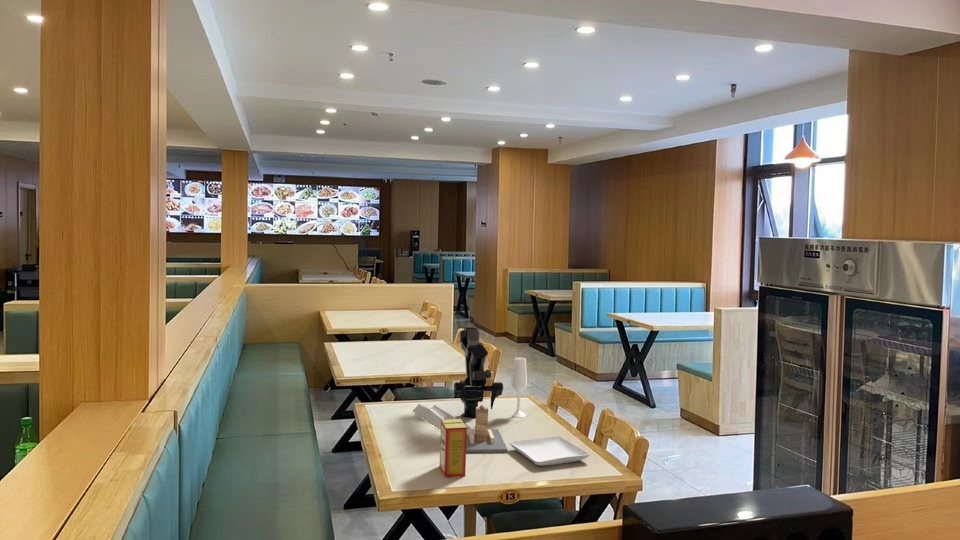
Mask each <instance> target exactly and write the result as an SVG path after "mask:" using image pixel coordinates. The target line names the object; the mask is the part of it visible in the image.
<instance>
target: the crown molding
mask: <svg viewBox="0 0 960 540" xmlns="http://www.w3.org/2000/svg"><path fill="white" fill-rule="evenodd" d="M430 409H433V410H434V411H435V412H437V414H439V415H440V416H439V415H437V414H436V413H434V412H433V411H431V410H430ZM412 411H413V412H415V413H416V414H417V415H419V416H420V417H421V418H420V417H419V416H418V417H419V418H420V419H422V418H423V419H424V420H423V419H422V420H423V421H425V420H426V421H427V422H429V423H430V424H432V425H434V426H435V427H437V428H438V429H440V430H441V419H458V417H455V416H453V415H451V414H450V413H448V412H447V411H445V410H444V409H442V408H441V407H438V406H437V405H435V404H433V406H432V407H431V408H428V407H426V406H425V405H423V404H422V403H418V404H417V405H416V407H414V409H413V410H412ZM413 412H412V413H413ZM416 414H415V415H416ZM417 415H416V416H417ZM441 416H442V417H443V418H442V417H441ZM426 421H425V422H426ZM427 422H426V423H427ZM429 423H428V424H429ZM463 423H464V422H463ZM430 424H429V425H430ZM464 424H465V426H466V427H467V429H472V428H471V427H470V425H467V423H464ZM432 425H431V426H432ZM435 427H434V428H435ZM438 429H437V430H438Z"/></svg>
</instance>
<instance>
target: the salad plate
mask: <svg viewBox="0 0 960 540" xmlns="http://www.w3.org/2000/svg"><path fill="white" fill-rule="evenodd" d="M509 444H510V446H511V448H513V449H514V450H515V451H517V452H518V453H520V454H521V455H523V456H524V457H525V458H527V459H528V460H530V461H531V462H532V463H533V464H535V465H536V466H538V467H539V466H542V467H543V466H544V467H546V466H553V465H554V466H555V465H562V464H568V463H575V462H578V461H582V460H585V459H587V458H589V457H590V456H591V453H589V452H588V451H586V450H585V449H583V448H581V447H580V446H578V445H576V444H574V443H572V442H570V441H569V440H567V439H565V438H564V437H562V436H560V435H559V436H558V435H555V436H546V437H544V436H543V437H537V438H530V439H519V440H514V441H513V440H511V441H509Z"/></svg>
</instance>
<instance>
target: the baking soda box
mask: <svg viewBox="0 0 960 540" xmlns="http://www.w3.org/2000/svg"><path fill="white" fill-rule="evenodd" d="M465 424H466V423H465ZM465 424H464V422H463V419H462V418H457V419H441V431H440V438H439V439H440V440H439V441H440V443H439V446H440V447H439V468H440V470H441V472H442V475H443V474H444V475H443V477H444V476H445V477H444V478H453V477H452V476H461V477H466V462H467V453H466V437H467V427H466V426H465Z"/></svg>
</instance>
